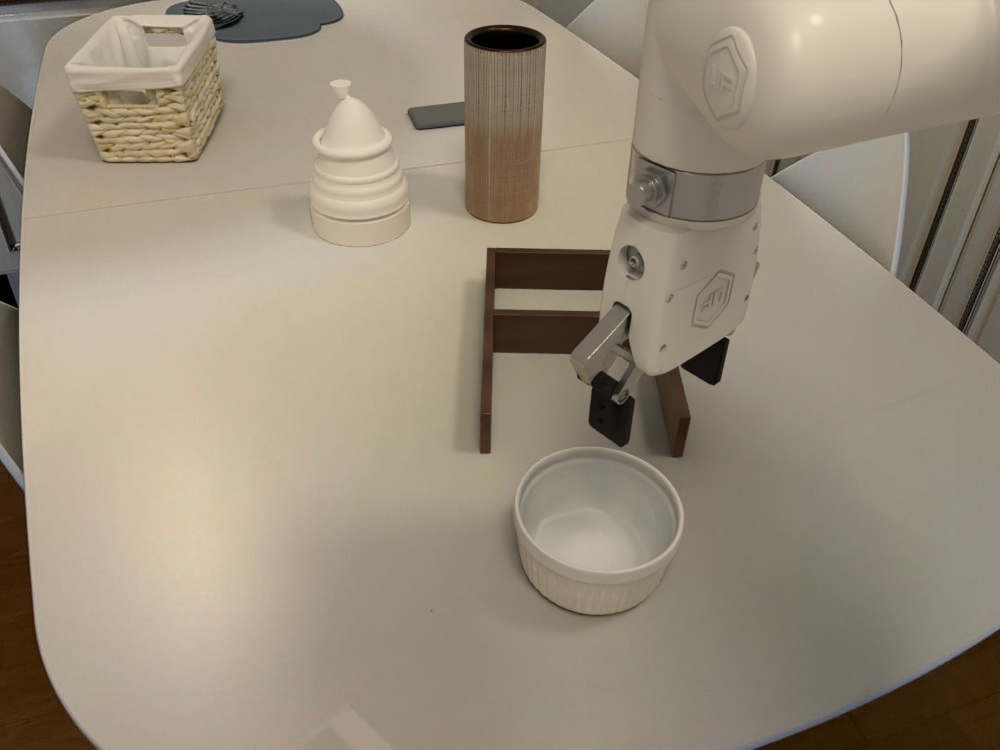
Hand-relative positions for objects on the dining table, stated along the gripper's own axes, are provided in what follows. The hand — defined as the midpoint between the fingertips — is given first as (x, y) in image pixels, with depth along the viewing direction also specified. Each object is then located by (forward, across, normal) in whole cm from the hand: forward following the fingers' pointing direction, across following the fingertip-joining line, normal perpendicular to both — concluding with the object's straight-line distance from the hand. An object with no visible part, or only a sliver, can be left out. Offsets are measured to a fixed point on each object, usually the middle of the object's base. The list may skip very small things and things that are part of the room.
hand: (655, 403), depth 59 cm
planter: (+17, +33, +52) cm, 64 cm away
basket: (+16, +8, +104) cm, 105 cm away
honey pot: (+17, +16, +61) cm, 65 cm away
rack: (+17, +16, +22) cm, 32 cm away
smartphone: (+16, +47, +80) cm, 95 cm away
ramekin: (+17, -2, +2) cm, 18 cm away
